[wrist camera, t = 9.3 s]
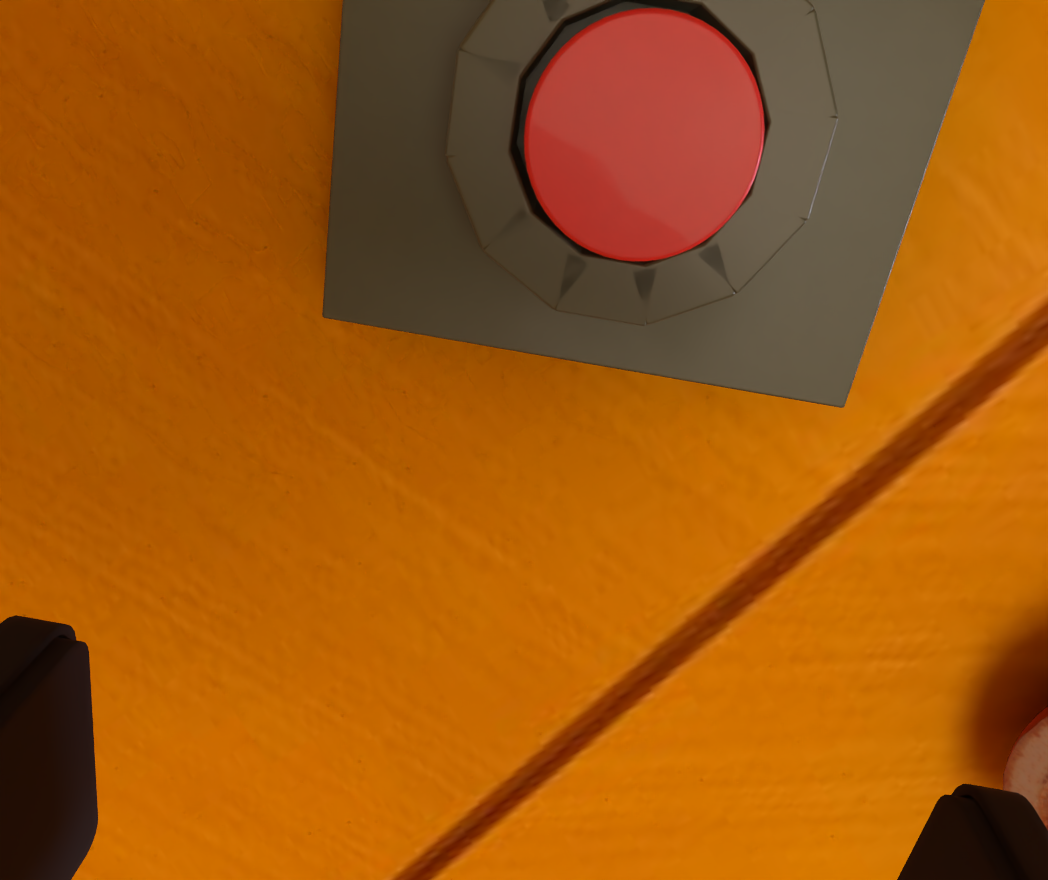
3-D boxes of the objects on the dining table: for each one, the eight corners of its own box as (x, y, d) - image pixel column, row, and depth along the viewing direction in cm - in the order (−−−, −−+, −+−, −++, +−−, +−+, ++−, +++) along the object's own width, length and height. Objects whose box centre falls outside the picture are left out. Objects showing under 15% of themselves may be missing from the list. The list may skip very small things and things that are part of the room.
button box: (346, 294, 21) (296, 341, 17) (383, -191, 17) (329, -266, 13) (818, 377, 21) (870, 440, 17) (969, -84, 17) (1079, -129, 13)
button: (513, 225, 16) (506, 241, 15) (549, -4, 15) (545, -14, 13) (714, 260, 16) (729, 280, 15) (772, 36, 15) (796, 32, 13)
